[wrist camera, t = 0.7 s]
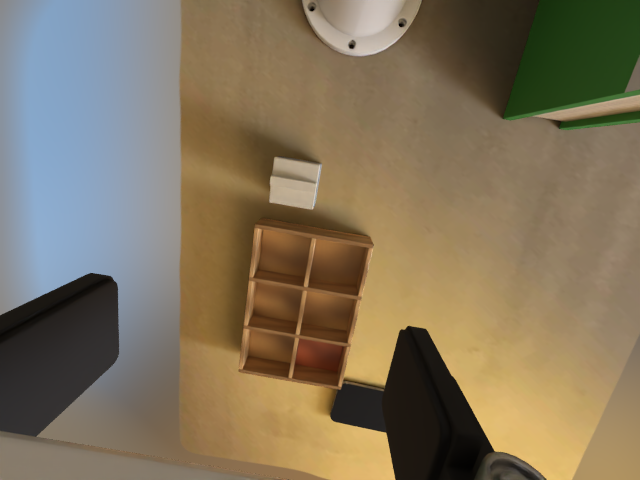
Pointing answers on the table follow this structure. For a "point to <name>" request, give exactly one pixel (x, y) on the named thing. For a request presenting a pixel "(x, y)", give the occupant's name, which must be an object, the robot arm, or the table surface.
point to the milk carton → (294, 182)
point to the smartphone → (359, 406)
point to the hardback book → (580, 64)
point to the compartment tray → (302, 302)
